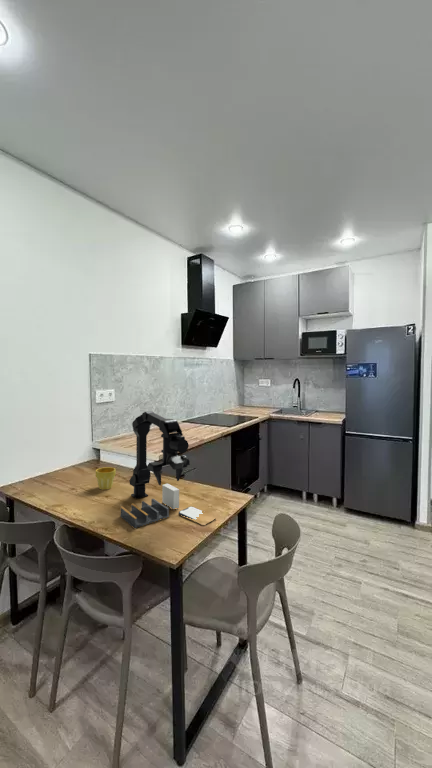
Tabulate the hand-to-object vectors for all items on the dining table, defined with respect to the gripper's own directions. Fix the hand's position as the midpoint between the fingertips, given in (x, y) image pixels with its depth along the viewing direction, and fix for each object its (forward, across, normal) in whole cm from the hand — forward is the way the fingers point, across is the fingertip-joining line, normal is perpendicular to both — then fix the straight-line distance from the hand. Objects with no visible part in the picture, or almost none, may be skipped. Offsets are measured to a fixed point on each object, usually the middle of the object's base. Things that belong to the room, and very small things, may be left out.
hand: (169, 483), depth 142 cm
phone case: (+14, +8, -10) cm, 20 cm away
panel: (+14, +5, +7) cm, 16 cm away
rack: (+14, -10, +4) cm, 17 cm away
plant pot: (+15, -10, +48) cm, 52 cm away
